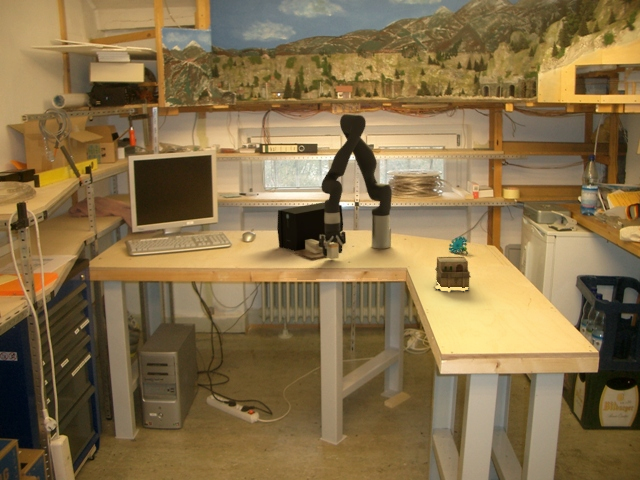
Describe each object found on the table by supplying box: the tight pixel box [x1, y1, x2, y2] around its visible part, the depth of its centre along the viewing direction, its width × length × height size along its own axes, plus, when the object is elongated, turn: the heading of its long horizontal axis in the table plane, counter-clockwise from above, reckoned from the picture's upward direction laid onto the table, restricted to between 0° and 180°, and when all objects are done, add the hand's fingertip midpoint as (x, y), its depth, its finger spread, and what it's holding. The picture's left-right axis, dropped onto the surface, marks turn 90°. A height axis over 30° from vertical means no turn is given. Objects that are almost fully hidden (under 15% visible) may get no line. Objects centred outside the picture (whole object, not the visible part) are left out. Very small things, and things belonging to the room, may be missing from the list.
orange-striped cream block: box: [326, 242, 340, 260], centre depth 294 cm, size 4×5×7 cm
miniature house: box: [434, 256, 472, 288], centre depth 251 cm, size 15×14×11 cm
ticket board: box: [293, 239, 327, 261], centre depth 305 cm, size 16×16×6 cm
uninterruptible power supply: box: [276, 201, 344, 252], centre depth 324 cm, size 16×34×20 cm, turn 131°
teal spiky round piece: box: [448, 235, 469, 254], centre depth 306 cm, size 11×6×10 cm
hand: (332, 254), depth 294 cm, fingers open, 8 cm apart
